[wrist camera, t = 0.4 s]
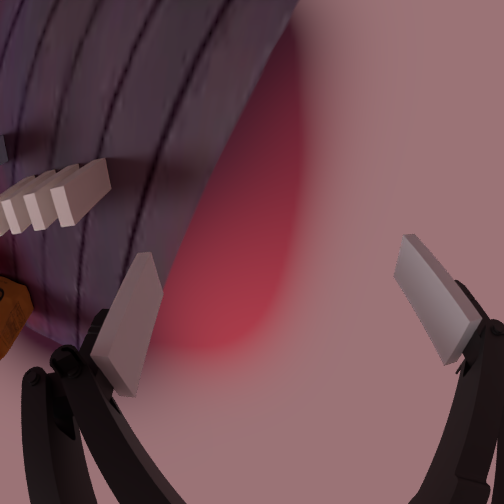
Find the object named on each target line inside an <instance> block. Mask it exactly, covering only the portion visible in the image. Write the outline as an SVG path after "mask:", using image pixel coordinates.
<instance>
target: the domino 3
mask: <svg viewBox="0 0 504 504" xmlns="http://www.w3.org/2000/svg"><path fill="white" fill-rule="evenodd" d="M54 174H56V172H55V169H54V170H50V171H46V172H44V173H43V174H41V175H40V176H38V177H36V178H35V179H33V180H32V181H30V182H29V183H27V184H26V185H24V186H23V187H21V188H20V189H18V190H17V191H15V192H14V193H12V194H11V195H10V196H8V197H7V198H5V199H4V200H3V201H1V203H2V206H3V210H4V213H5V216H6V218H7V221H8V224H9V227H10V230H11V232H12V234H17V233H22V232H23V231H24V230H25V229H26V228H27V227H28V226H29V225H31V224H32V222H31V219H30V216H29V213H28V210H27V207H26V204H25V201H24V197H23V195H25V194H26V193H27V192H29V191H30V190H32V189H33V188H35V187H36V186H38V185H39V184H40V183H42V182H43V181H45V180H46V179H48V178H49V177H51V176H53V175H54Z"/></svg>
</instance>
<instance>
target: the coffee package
mask: <svg viewBox="0 0 504 504" xmlns="http://www.w3.org/2000/svg"><path fill="white" fill-rule="evenodd" d="M33 309H34V307H33V305H32V302H31V299H30V294H29V291H28V290H27V287H26V286H24V285H21V284H18V283H16V282H14V281H11V280H10V279H8V278H5V277H2V276H0V360H1V359H2V358H3V357H4V356H5V355H6V354H7V352H8V351H9V349H10V348H11V346H12V344H13V342H14V341H15V339H16V338H17V336H18V335H19V333H20V331H21V330H22V328H23V326H24V325H25V323H26V321H27V319H28V318H29V316H30V315H31V313H32V311H33Z"/></svg>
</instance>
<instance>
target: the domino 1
mask: <svg viewBox="0 0 504 504" xmlns="http://www.w3.org/2000/svg"><path fill="white" fill-rule="evenodd" d="M7 161H8V157H7V152H6V147H5V142H4V137H3V135H1V136H0V165H1V164H3V163H5V162H7Z"/></svg>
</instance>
